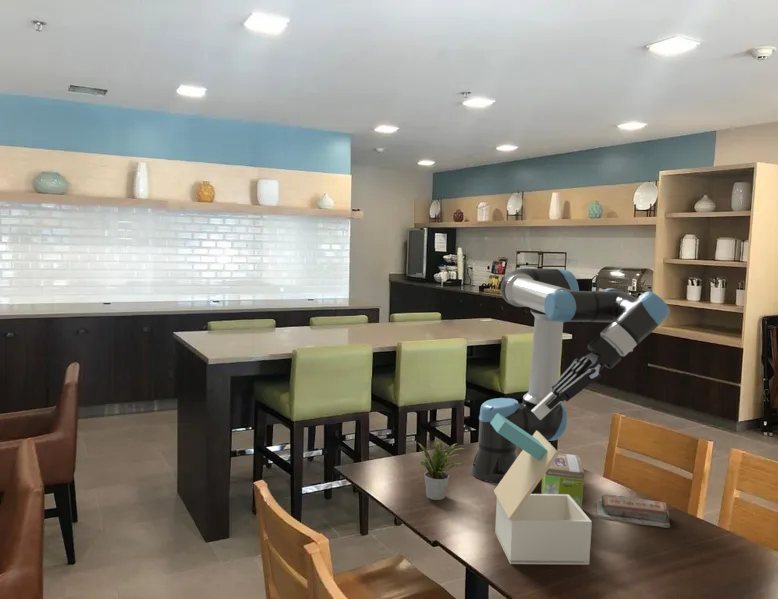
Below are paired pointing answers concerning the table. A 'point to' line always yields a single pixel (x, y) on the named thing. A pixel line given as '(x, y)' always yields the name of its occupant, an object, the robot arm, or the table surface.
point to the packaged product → (633, 510)
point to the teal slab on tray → (522, 465)
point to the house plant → (437, 471)
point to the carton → (545, 531)
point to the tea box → (565, 478)
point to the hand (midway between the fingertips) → (535, 415)
